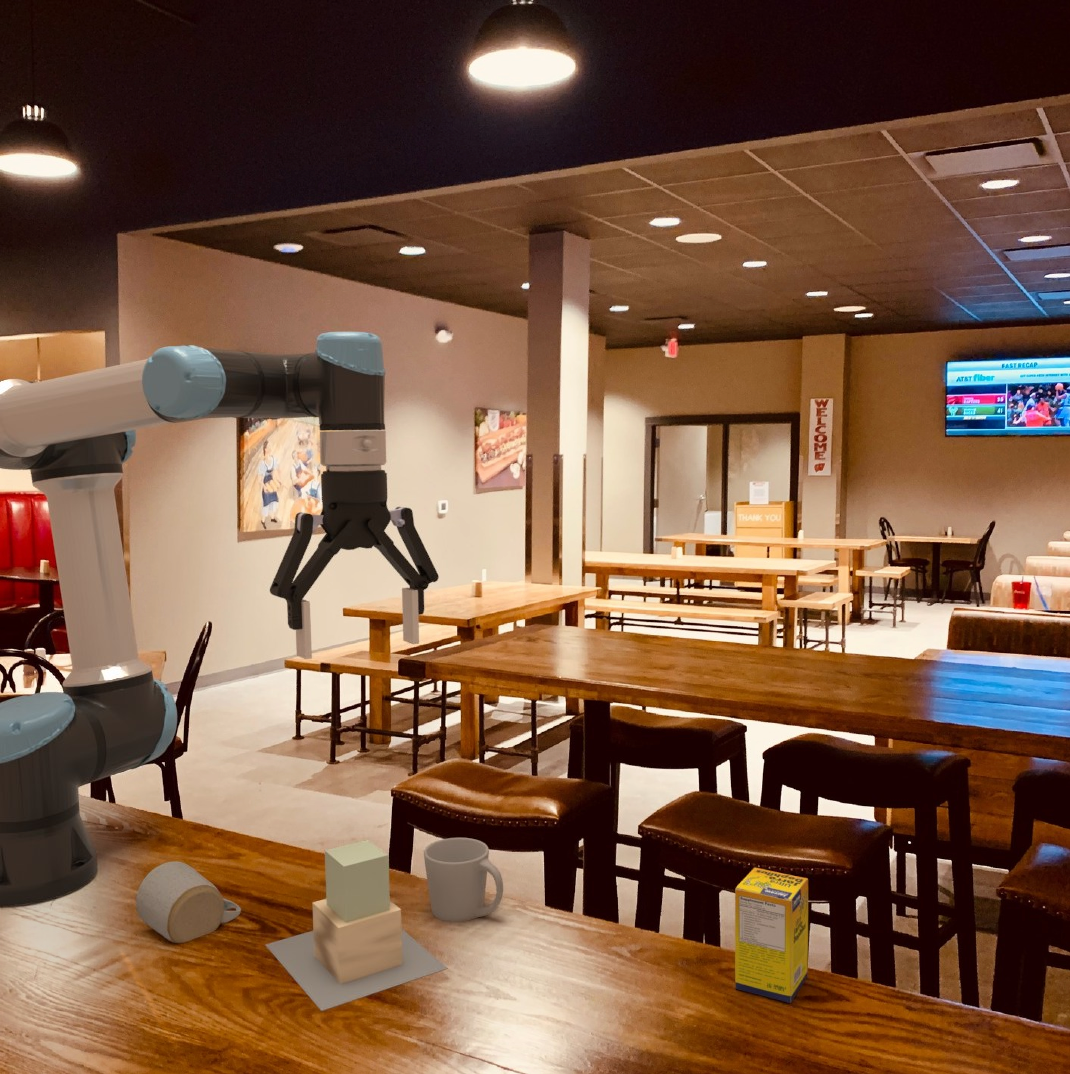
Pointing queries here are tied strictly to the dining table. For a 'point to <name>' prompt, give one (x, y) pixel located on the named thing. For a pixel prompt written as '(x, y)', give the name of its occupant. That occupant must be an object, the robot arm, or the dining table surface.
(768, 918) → the supplement box
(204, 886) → the ceramic mug
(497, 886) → the cup
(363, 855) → the sage block
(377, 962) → the base block
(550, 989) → the dining table surface
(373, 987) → the board
